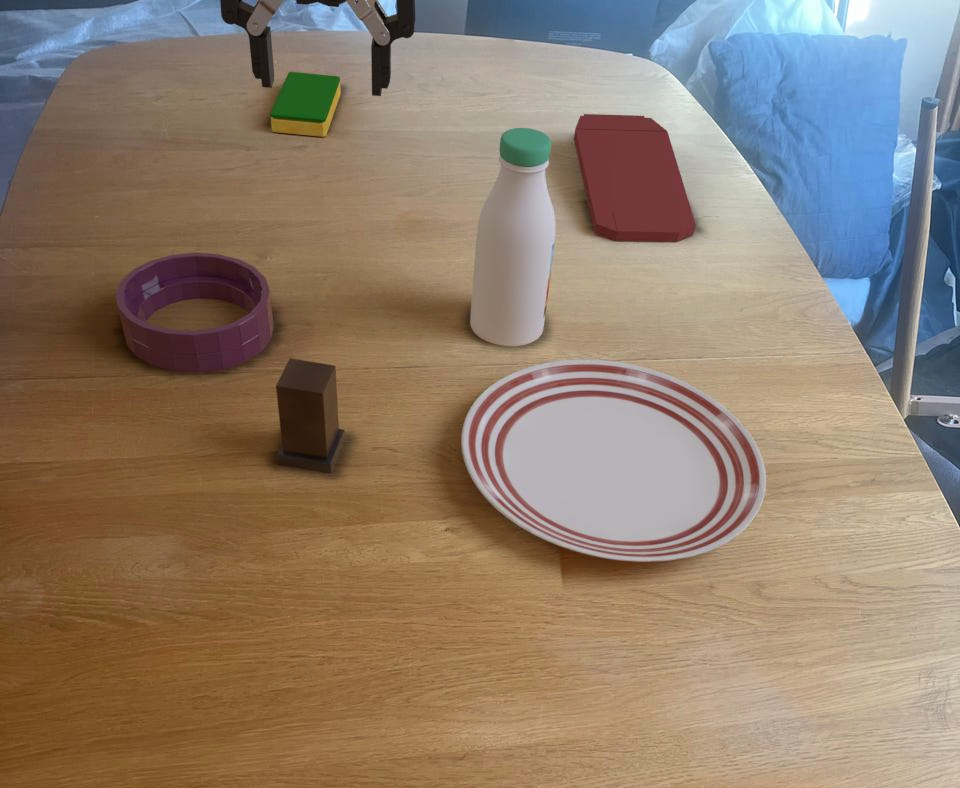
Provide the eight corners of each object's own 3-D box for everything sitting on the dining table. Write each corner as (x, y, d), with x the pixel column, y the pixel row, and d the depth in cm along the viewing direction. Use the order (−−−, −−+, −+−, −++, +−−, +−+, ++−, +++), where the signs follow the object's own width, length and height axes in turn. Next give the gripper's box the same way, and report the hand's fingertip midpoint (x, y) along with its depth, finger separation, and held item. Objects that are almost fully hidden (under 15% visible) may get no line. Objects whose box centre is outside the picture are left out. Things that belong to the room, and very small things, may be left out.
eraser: (278, 472, 88) (269, 387, 81) (294, 438, 91) (286, 354, 84) (331, 480, 88) (326, 397, 81) (345, 446, 91) (341, 363, 84)
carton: (687, 267, 122) (651, 143, 135) (698, 232, 118) (660, 108, 131) (591, 265, 121) (564, 141, 133) (598, 231, 117) (570, 105, 129)
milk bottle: (537, 358, 102) (563, 162, 86) (463, 346, 102) (476, 149, 87) (547, 317, 107) (573, 125, 91) (476, 306, 107) (491, 112, 92)
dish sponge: (341, 94, 139) (340, 75, 137) (325, 138, 130) (324, 118, 128) (290, 89, 139) (288, 70, 137) (271, 132, 130) (269, 113, 128)
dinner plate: (704, 378, 102) (712, 350, 99) (803, 572, 85) (816, 544, 82) (438, 390, 97) (440, 361, 95) (487, 597, 80) (491, 569, 78)
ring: (111, 375, 95) (100, 329, 91) (143, 293, 104) (134, 248, 101) (263, 383, 96) (258, 338, 92) (281, 301, 105) (277, 257, 101)
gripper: (191, -167, 63) (224, 102, 76) (415, -148, 64) (411, 115, 76) (211, -195, 68) (239, 62, 80) (420, -176, 69) (415, 75, 81)
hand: (323, 88), depth 78 cm, fingers open, 8 cm apart
